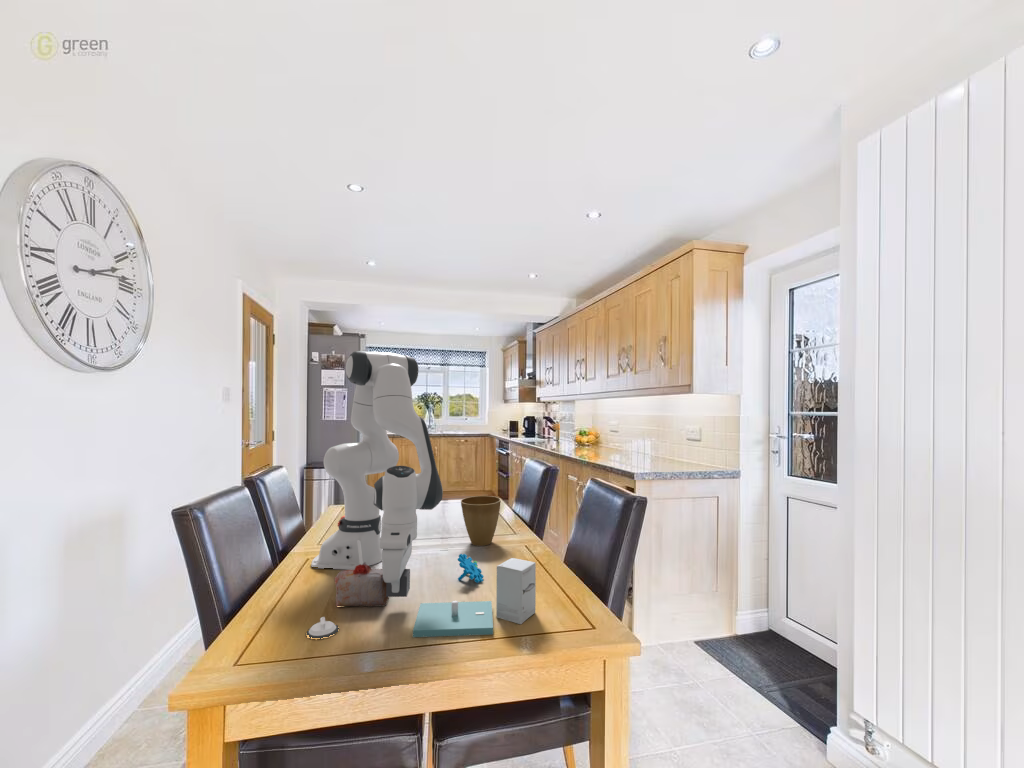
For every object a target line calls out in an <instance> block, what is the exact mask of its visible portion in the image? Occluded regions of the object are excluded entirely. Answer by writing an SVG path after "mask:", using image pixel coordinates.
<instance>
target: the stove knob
mask: <svg viewBox="0 0 1024 768" xmlns="http://www.w3.org/2000/svg"><path fill="white" fill-rule="evenodd" d="M335 624H336V623H334V622H332V621H330V620H326V617H325V616H322V617H320V618H319V621H318V622H317V623H314V624H313V625H312V626H311V627H310V628H308V629H307V630H309V631H306V632H307V635H309V637H310V638H311V637H312V638H320V639H321V638H323V637H329V636H330V635H333V634H335V633H336V632H338V629H339V630H340V627H339V628H338V626H339V625H337V624H336V625H335ZM338 633H339V632H338ZM335 635H336V634H335Z"/></svg>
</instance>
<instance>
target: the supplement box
mask: <svg viewBox="0 0 1024 768" xmlns="http://www.w3.org/2000/svg"><path fill="white" fill-rule="evenodd" d="M536 563H537V562H535V561H529V560H525V559H520V558H515V557H511V558H509V559H506V560H505V561H503V562H502V563H500V564H498V565H496V607H495V609H496V612H495V613H496V615H495V616H496V618H498V619H501V620H504V621H508V622H511V623H515V624H519V625H522V624H523V623H524V622H526V620H528V619H529V618H530V617H531V616H533V615H534V614H536V606H537V605H536V594H537V593H536V589H537V585H536V584H537V583H536V580H537V579H536V572H537V571H536V568H537V567H536V565H537V564H536Z"/></svg>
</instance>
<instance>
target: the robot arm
mask: <svg viewBox="0 0 1024 768" xmlns="http://www.w3.org/2000/svg"><path fill="white" fill-rule="evenodd" d="M348 356H349V357H348V359H347V361H346V363H345V374H346V377H347V380H348V381H349V382H350V383H352V384H354V385H355V389H354V393H353V395H354V396H353V399H352V400H353V401H352V409H351V414H350V423H351V426H352V427H353V428H354V429H355V431H358V433H361V434H362V441H361V442H347V443H346V442H345V443H341V444H338V445H334V446H331V447H329V448H328V449H327V450H326V452H325V454H324V457H323V466H324V467H323V468H324V470H325V472H326V473H327V474H328V475H329V476H330V477H331V478H332V479H334V480H336V481H337V484H338V485H339V486H340V487H341V490H342V493H343V500H344V501H343V502H344V515H342V516H341V517H340V519H339V520H338V522H337V527H338V530H336V531H335V532H334V533H332V534H330V535H329V536H328V538H326V539H325V540H324V541H323V542H322V544H321V545H320V549H319V554H317V556H315V557H314V558H313V559H312V561H311V564H310V565H311V568H312V567H318V568H317V569H324V568H333V569H332V570H355V568H356V566H358V565H360V564H361V565H363V563H364V562H366V565H368V566H373V565H376V564H378V563H380V562H381V569H382V571H383V579H384V582H386V583H391V584H392V592H393V593H398V592H399V590H400V578H401V576H402V573H403V571H404V569H407V568H406V567H407V566H408V565H407V564H408V562H409V560H410V559H411V558H410V557H411V556H412V552H413V551H412V549H413V546H412V545H413V541H415V540H416V539H417V538H418V515H417V510H421V511H422V510H424V511H425V510H427V511H431V510H433V509H435V508H436V507H437V506H438V505H439V504H440V502H442V501H443V500H442V499H443V494H444V490H443V489H444V488H443V485H442V480H441V478H440V475H439V472H438V468H437V464H436V460H435V454H434V451H433V446H432V441H431V438H430V434H429V430H428V426H427V423H426V421H425V419H424V418H422V417H420V416H419V415H418V414H417V411H416V409H415V408H414V403H413V393H412V392H413V391H412V386H413V385H414V384H415V383H416V382H417V380H418V377H419V363H418V362H417V360H416V359H415V357H412V356H409V355H406V354H403V355H401V354H398V353H394V352H388V351H384V352H380V351H366V350H357V351H353V352H352V353H351V354H349V355H348ZM389 432H390V434H391V433H392V434H395V435H398V436H401V437H403V438H405V439H407V440H409V442H412V443H413V445H414V446H415V449H416V453H417V458H418V463H419V467H420V471H421V472H419V473H416V470H415V468H412V467H410V466H406V465H398V462H399V458H400V453H399V450H398V447H397V445H396V444H395V443H393V442H392V441H391V439H390V437H389V436H388V433H389ZM381 473H384V475H382V476H380V477H379V478H378V479H377V480H376V482H374V484H373V485H374V487H373V486H372V485H369V484H368V483H367V481H366V476H367V475H374V474H381ZM380 511H381V512H382V511H383V513H382V516H381V514H380ZM381 517H382V518H381Z"/></svg>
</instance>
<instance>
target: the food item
mask: <svg viewBox="0 0 1024 768" xmlns="http://www.w3.org/2000/svg"><path fill="white" fill-rule="evenodd" d="M334 584H335V588H336V589H335V590H336V593H335V594H336V595H335V605H336V606H335V607H337V606H351V607H378V606H379V607H384V606H387V604H388V601H389V598H390V597H386V582H384V579H383V571H382V568H371V565H369V566H368V565H366V562H364V563H363V565H361V564H360V565H358V566H356V568H355V570H345V569H341V570H339V572H338V573H337V575H336V576H335V577H334Z"/></svg>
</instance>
